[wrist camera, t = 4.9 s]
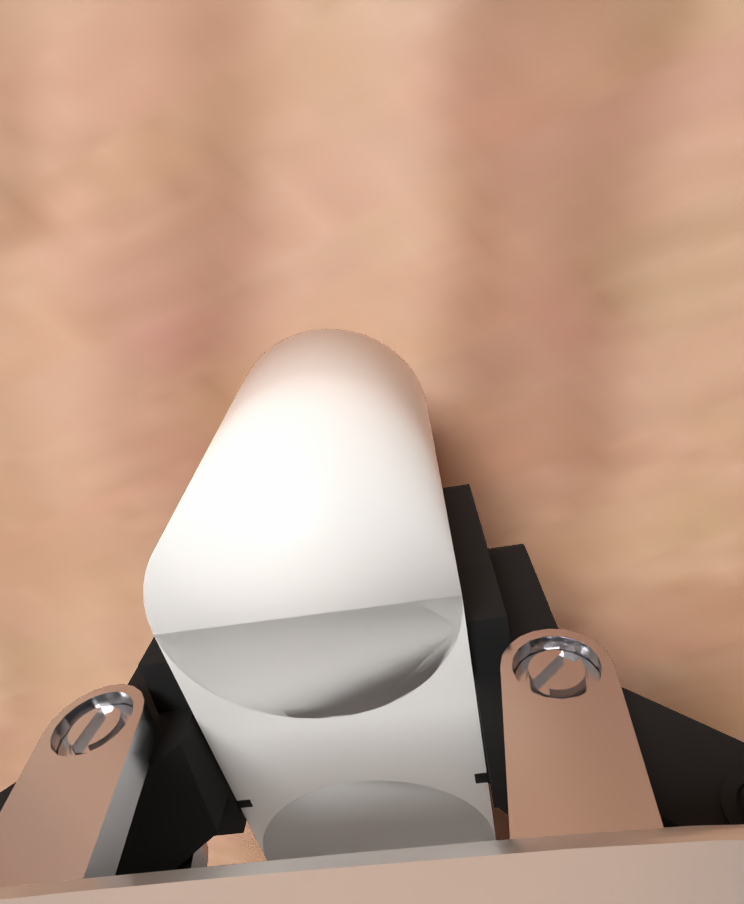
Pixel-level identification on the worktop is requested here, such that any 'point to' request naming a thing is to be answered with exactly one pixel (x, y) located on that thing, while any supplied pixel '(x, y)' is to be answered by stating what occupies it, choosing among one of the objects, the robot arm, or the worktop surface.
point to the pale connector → (326, 609)
